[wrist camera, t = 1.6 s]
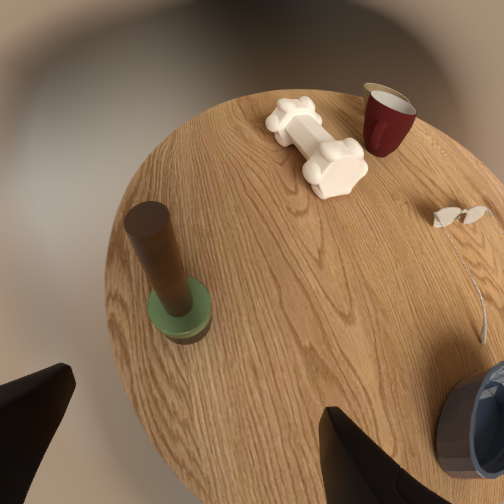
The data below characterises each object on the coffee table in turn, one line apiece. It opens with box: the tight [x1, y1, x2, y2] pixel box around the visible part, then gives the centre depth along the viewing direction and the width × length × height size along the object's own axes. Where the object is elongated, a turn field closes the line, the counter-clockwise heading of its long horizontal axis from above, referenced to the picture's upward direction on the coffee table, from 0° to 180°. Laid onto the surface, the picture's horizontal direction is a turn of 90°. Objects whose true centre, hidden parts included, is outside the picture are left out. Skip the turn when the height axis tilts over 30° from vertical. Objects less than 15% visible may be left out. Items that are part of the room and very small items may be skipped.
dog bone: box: [265, 96, 368, 199], centre depth 34 cm, size 15×9×8 cm, turn 19°
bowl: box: [436, 361, 504, 479], centre depth 15 cm, size 12×12×6 cm
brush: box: [124, 201, 212, 345], centre depth 19 cm, size 5×5×14 cm
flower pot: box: [364, 83, 410, 110], centre depth 47 cm, size 10×10×7 cm
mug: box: [363, 90, 417, 157], centre depth 38 cm, size 10×8×10 cm
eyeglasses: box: [433, 206, 504, 345], centre depth 27 cm, size 15×18×4 cm
